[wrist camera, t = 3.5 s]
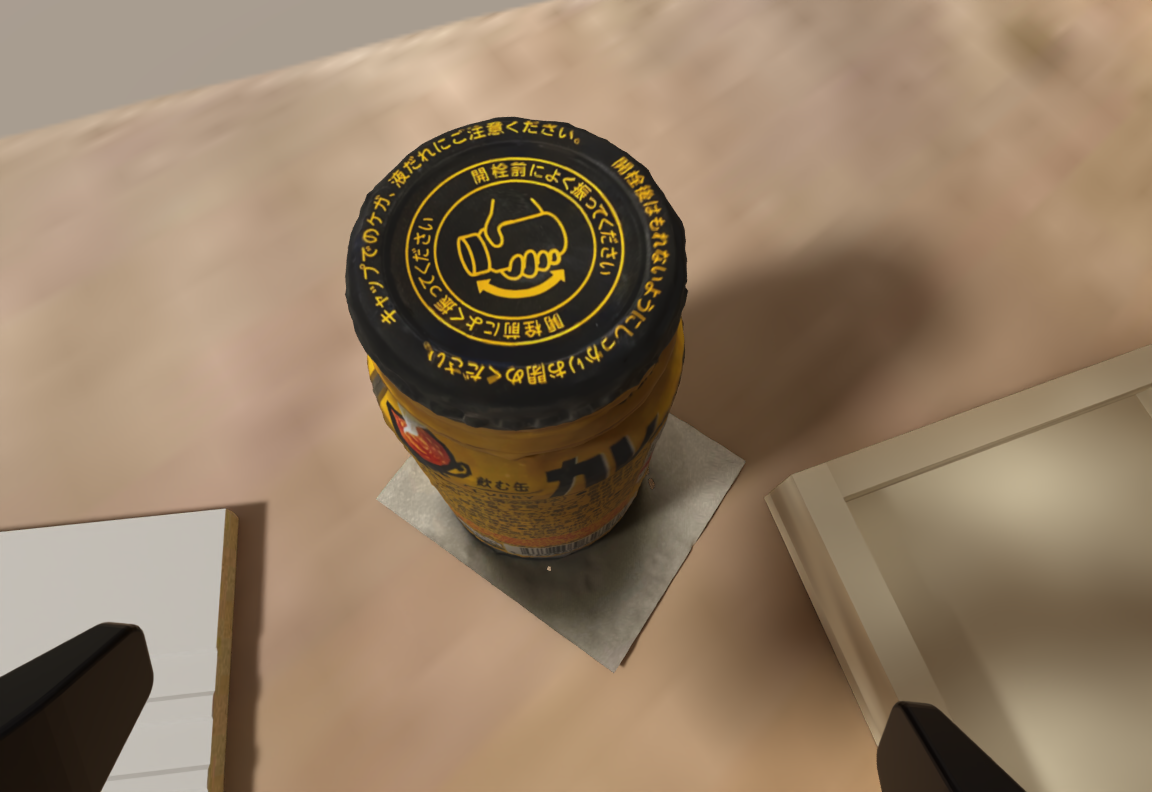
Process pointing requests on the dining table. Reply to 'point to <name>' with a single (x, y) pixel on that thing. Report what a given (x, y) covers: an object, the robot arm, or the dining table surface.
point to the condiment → (537, 369)
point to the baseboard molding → (158, 606)
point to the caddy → (999, 574)
